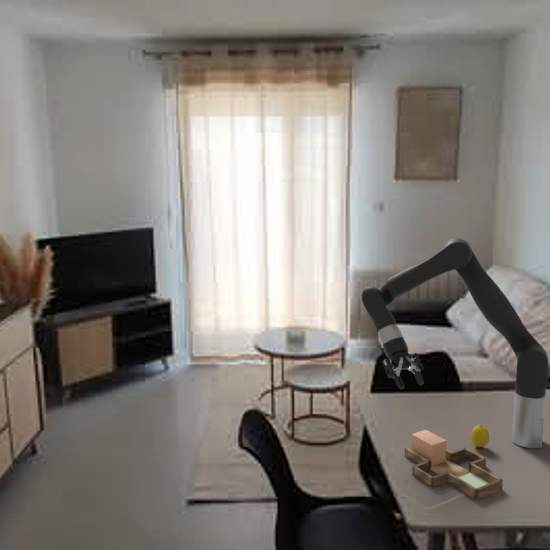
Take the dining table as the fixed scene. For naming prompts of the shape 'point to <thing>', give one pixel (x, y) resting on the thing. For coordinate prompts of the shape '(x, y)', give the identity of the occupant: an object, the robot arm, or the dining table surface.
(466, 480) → the pad
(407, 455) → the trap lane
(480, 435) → the lemon
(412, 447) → the block
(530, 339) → the robot arm
